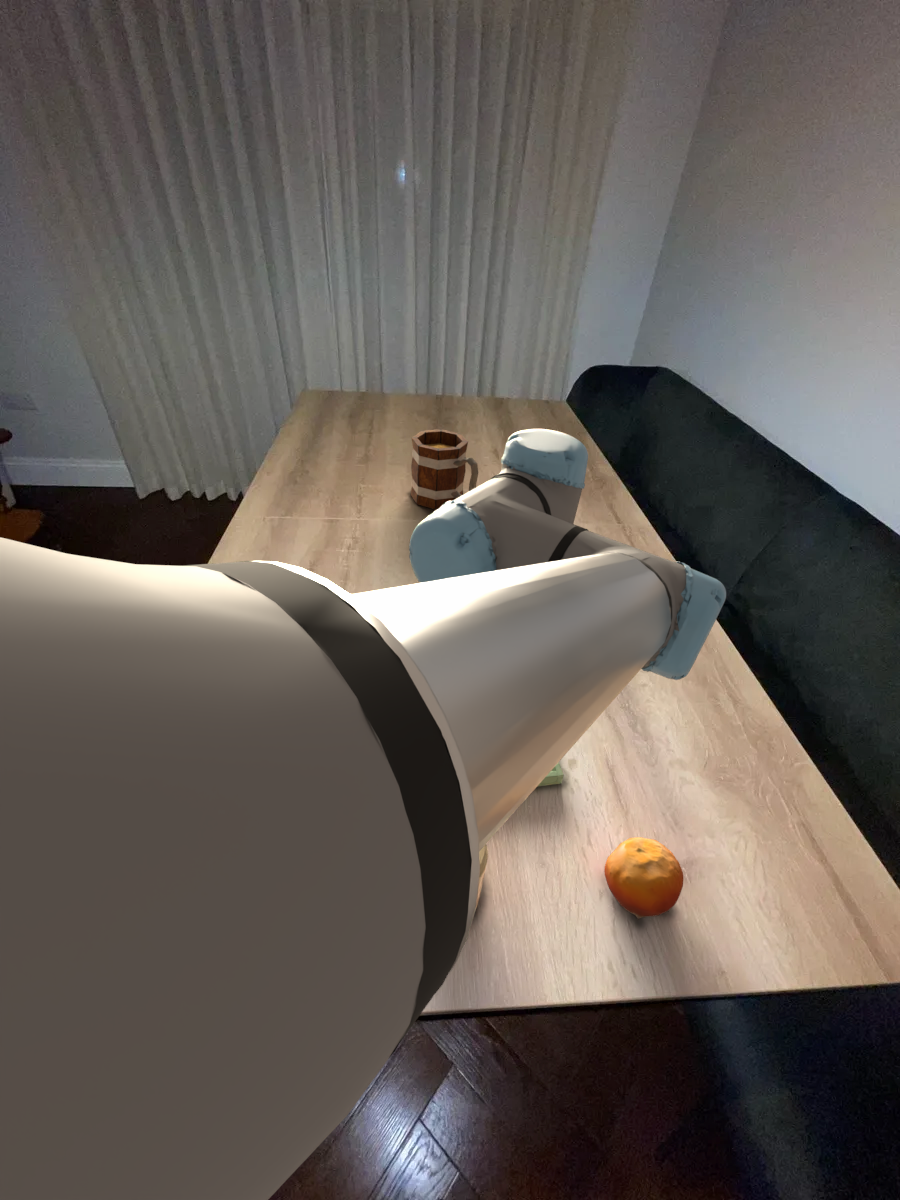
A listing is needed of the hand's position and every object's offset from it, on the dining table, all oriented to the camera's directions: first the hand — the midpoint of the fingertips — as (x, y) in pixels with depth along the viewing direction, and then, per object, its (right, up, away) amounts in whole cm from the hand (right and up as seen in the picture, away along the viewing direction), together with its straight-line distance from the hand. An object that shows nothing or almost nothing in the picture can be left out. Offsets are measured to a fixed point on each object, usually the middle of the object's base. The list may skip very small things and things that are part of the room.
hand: (497, 714), depth 68 cm
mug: (-7, +40, +65) cm, 76 cm away
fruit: (+15, -19, -7) cm, 25 cm away
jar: (-7, -18, -9) cm, 21 cm away
